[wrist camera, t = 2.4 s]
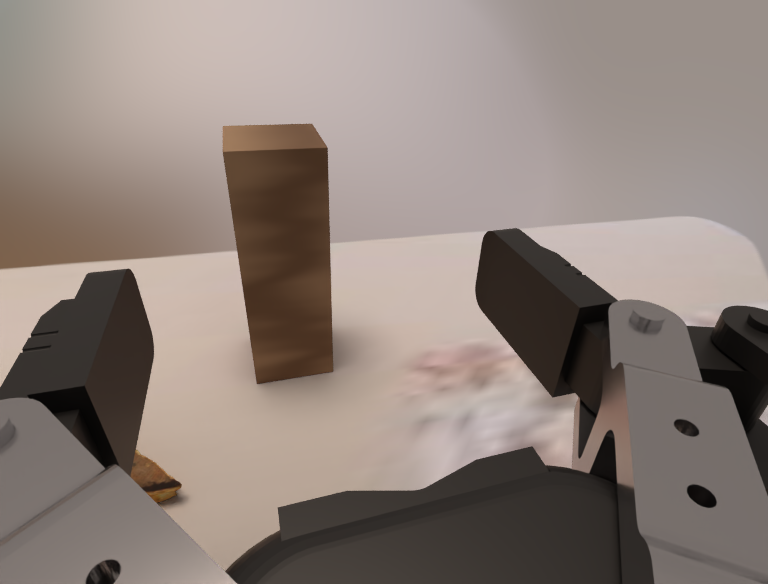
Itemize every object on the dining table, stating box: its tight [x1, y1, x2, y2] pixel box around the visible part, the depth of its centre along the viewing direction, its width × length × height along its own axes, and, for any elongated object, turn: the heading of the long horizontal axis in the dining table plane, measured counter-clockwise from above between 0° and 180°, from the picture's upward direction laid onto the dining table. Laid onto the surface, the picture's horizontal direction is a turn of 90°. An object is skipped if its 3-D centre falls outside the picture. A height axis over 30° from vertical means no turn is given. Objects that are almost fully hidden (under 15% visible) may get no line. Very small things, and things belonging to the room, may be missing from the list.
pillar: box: [223, 124, 333, 384], centre depth 23 cm, size 4×4×12 cm
